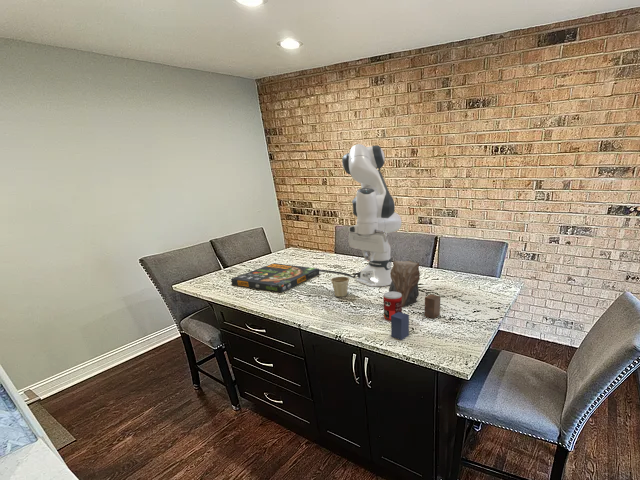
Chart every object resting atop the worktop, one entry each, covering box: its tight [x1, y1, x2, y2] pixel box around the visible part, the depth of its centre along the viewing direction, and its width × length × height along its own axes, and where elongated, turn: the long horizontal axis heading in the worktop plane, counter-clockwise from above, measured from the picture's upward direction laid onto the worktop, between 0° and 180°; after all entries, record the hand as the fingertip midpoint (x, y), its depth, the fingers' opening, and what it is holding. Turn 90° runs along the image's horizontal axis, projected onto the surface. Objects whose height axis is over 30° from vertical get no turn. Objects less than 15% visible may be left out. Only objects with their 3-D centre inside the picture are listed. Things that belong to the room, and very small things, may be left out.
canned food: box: [382, 291, 403, 322], centre depth 148 cm, size 8×8×11 cm
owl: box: [388, 260, 421, 308], centre depth 164 cm, size 13×13×20 cm
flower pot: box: [330, 276, 350, 298], centre depth 174 cm, size 9×9×9 cm
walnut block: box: [424, 293, 441, 320], centre depth 150 cm, size 5×5×9 cm
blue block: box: [390, 312, 410, 341], centre depth 132 cm, size 5×5×9 cm
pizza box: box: [230, 262, 320, 293], centre depth 200 cm, size 35×35×4 cm
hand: (368, 260), depth 148 cm, fingers closed
